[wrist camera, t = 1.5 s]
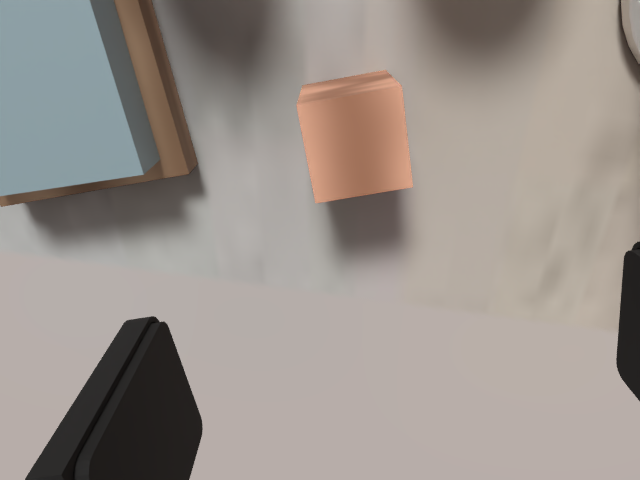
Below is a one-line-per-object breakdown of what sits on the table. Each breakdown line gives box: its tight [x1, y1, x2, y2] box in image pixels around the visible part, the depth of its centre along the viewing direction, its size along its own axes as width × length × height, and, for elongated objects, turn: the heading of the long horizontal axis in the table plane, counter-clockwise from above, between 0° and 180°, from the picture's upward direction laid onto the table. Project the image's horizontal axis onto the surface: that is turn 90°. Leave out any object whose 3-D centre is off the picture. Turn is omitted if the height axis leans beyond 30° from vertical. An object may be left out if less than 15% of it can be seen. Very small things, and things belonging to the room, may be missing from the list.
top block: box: [0, 0, 160, 196], centre depth 27 cm, size 10×10×3 cm
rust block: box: [297, 70, 413, 203], centre depth 28 cm, size 5×5×7 cm
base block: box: [0, 0, 198, 207], centre depth 30 cm, size 12×12×3 cm
